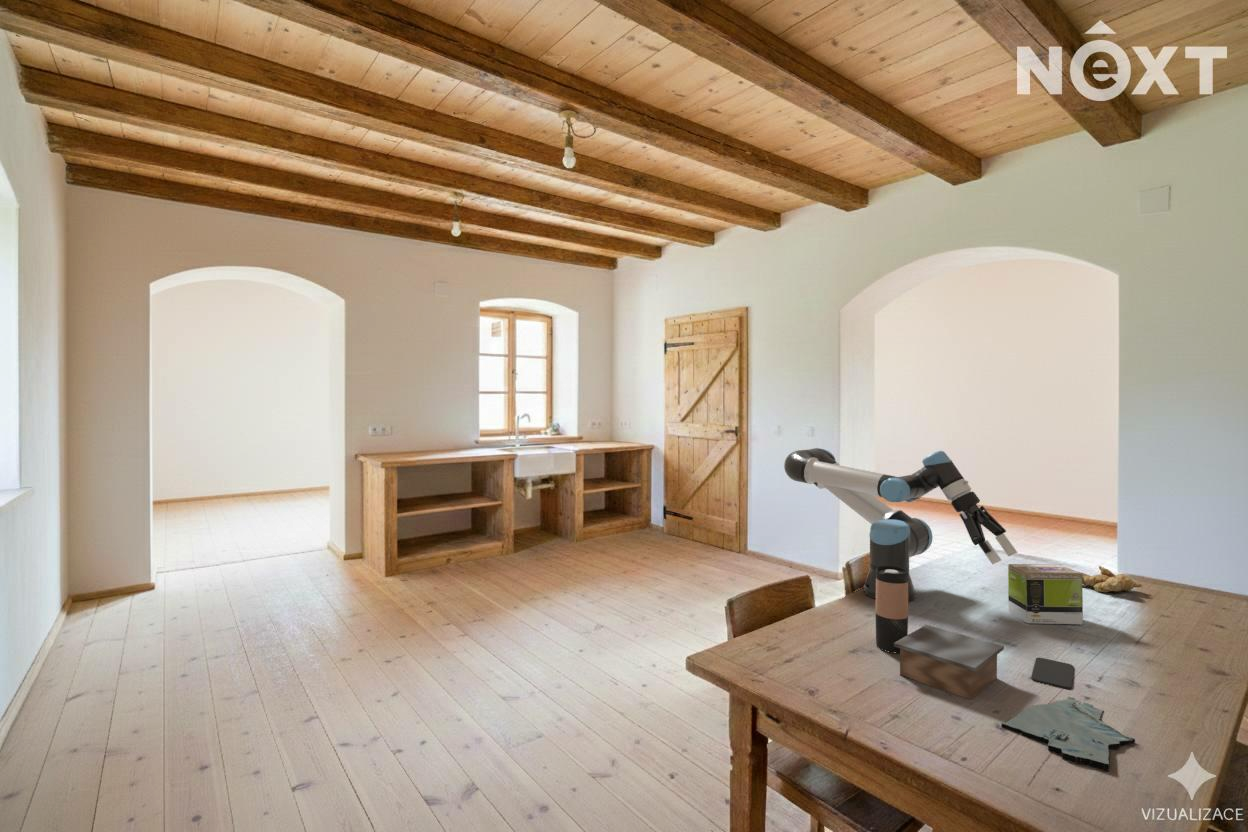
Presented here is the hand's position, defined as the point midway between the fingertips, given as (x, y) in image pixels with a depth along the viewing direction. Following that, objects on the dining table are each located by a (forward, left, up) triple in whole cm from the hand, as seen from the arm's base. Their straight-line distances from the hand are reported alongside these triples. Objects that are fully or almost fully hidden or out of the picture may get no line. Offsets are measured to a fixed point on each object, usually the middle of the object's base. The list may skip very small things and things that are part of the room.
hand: (1005, 558), depth 181 cm
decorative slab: (+31, -65, -16) cm, 74 cm away
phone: (+22, -39, -16) cm, 48 cm away
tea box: (+10, 0, -16) cm, 19 cm away
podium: (+7, -59, -15) cm, 62 cm away
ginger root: (+16, +46, -16) cm, 51 cm away
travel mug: (-9, -53, -15) cm, 56 cm away
